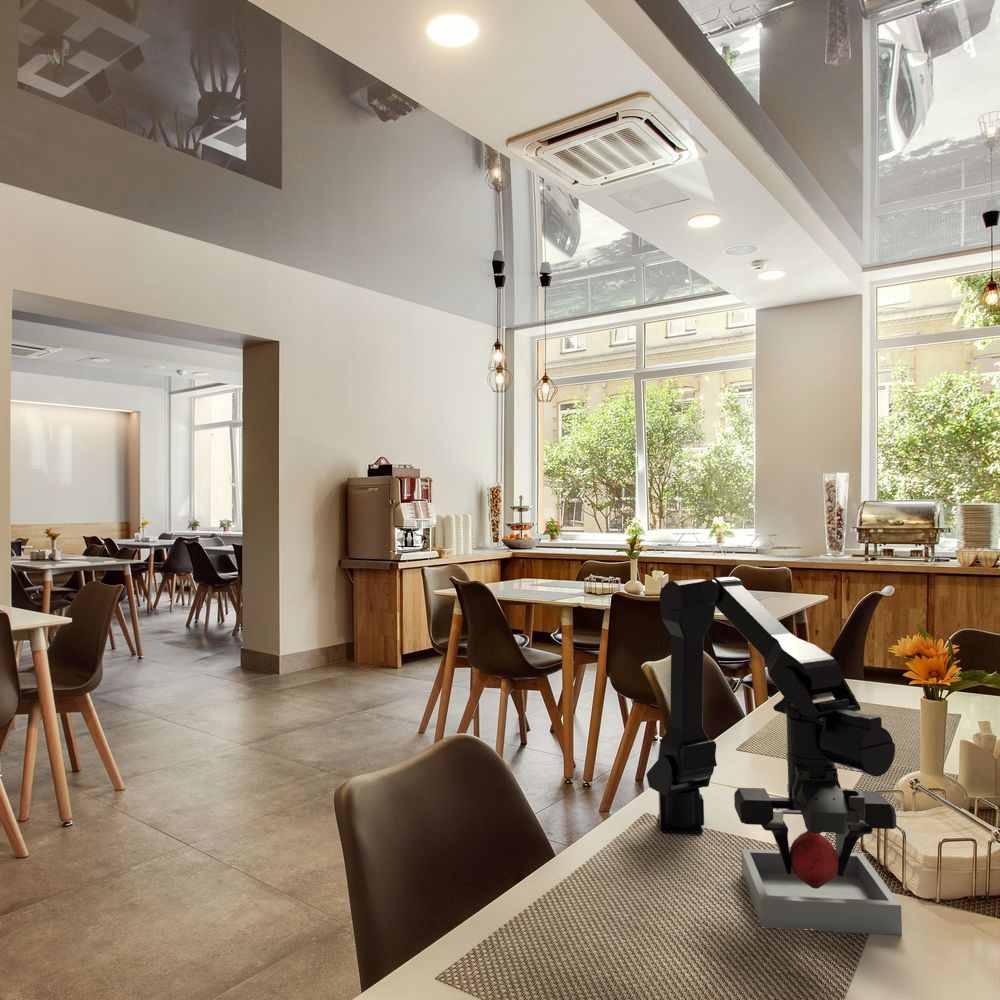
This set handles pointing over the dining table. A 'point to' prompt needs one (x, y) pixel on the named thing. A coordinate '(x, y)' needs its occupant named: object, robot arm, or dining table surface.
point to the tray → (820, 897)
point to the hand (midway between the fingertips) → (813, 874)
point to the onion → (813, 859)
